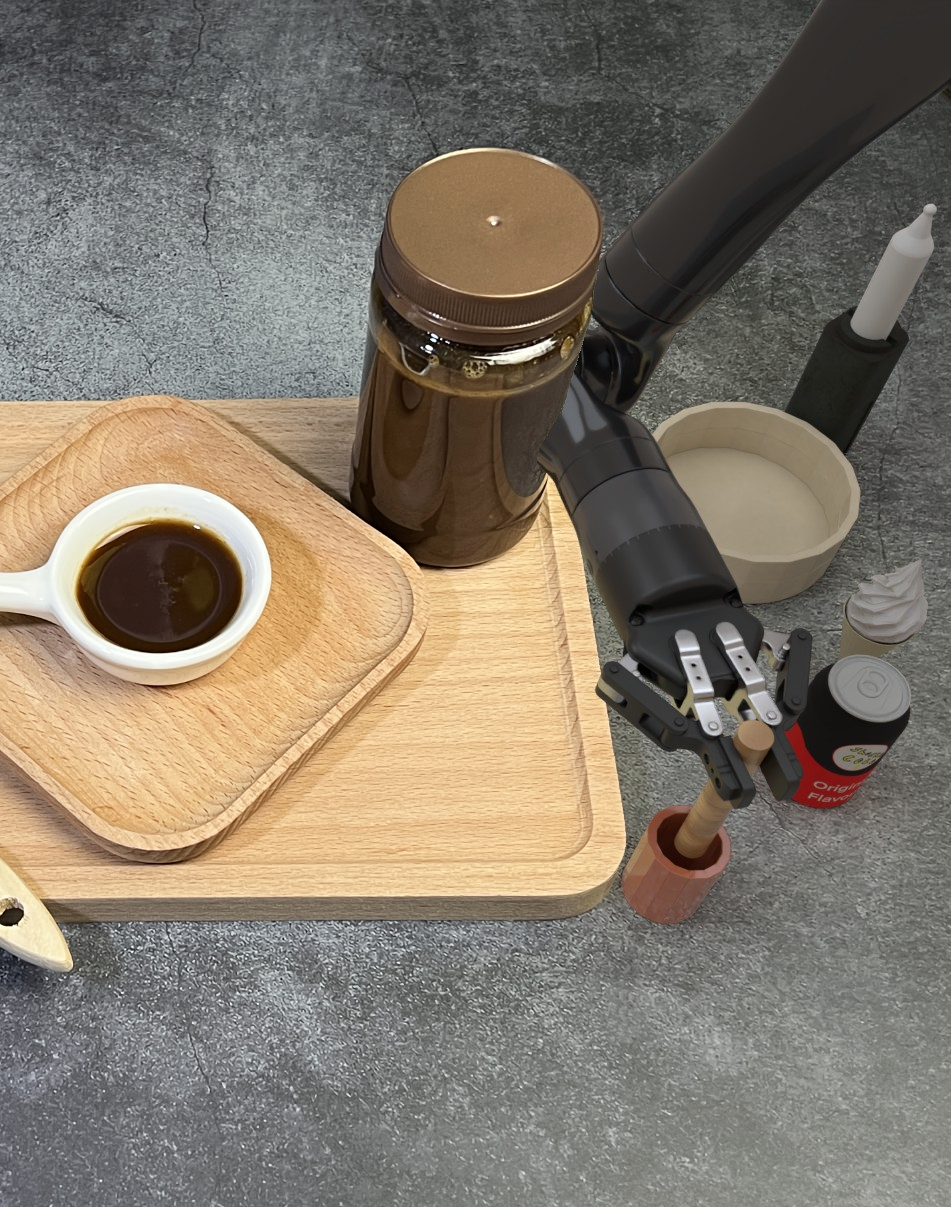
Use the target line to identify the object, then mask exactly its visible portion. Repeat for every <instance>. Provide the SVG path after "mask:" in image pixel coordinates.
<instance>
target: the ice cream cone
mask: <svg viewBox="0 0 951 1207" xmlns="http://www.w3.org/2000/svg"><path fill="white" fill-rule="evenodd" d="M922 562H923V559H922V558H919V559H917V560H915V561H913V562H911V563H909V564H907V565H905V566H902V567H895V568H894V572H892V573H890V572H889V573H884V575H882V574H874V575H872V576H871V577H870V579H871V581H872V584H871V583H866V582H861V583H858V585H857V586H858V589H856V590H854V591H853V592H851V593H850V594H849V595H848V596H846V598H845V600H844V602H843V605H842V606H843V607H842V613H843V620H842V627H841V634H840V642H839V643H840V644H839V652H838V653H839V654H838V660H837V662H838V661H839V660H841V659H842V658H845V657H847V656H851V655H869V656H873V657H877V658H880V657H881V656H883V655H885V654H886V653H887V654H888V653H889V652H891V651H892V650H893V649H895V648H896V647H898V646H901V645H904V644H906V643H908V642H910V641H911V640H912V639H913V638H914V637H915V636H916V634H918V633H920V631H921V628H922V627H923V626H924V624H926V620H927V615H928V614H927V613H928V608H929V602H928V600H927V599H926V597H925V592H926V591H925V587H924V586H925V585H924V584H925V581H924V578H923V575H922V573H923V572H922Z"/></svg>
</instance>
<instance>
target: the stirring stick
mask: <svg viewBox="0 0 951 1207" xmlns="http://www.w3.org/2000/svg"><path fill="white" fill-rule="evenodd" d="M732 739H733V743H734V745H735V747H736V749H737V750H738V752H739V754H740V756H741V758H742V760H743V762H744V764H745V766H746V768H747V770H748V772H749V774H750V776H751V778H753V777H754V776H755V773H757V771H758V769H759V768H760V767H759V766H760V764H761V762H762V761H763V759H764V758H765V756H766V754H767V753H768V751H769V750H770V748H771V746H772V745H773V743H774V734H773V732H772V730H771V729H770V728H769V727H768V726H767V725H766V724H764V723H763V722H760V721H757V720H748V721H745V722H743V723H741V724H740V723H739V725H738V727H737V729H736V731H735V732H734V734H733V735H732ZM692 806H693V807H692V809H691V810H690V812H689V814H688V816H687V817H686V819H685V821H684V823H683V824H682V826H681V828H680V830H679V831H678V833H677V835H676V837H675V840H674V843H675V847H676V849H677V850H678V852H679V853H680V854H682V855H683V856H685V857H687V858H699V857H701V856H703V855H704V853H705V852H706V850H707V849H708V847H709V845H710V844H711V842H712V841H713V839H714V838H715V836H716V834H717V833H718V831H719V830H720V828H721V826H722V825H723V826H724V823H725V821H726V820H727V818H728V817H729V815H730V814H731V812H732V810H733V809H734V808H733V807H732V805H731V803H730V801H723V800H722V799H721V798H720V797H719V796H718V795H717V793H716V791H715V789H714V786H713V784H712V782H711V779H710V778H709V777H708V779H707V781H706V783H705V785H704V786H703V788H702V790H701V792H700V793H699V795H698V797H697V798H696V800H695V802H694V803H693V805H692Z"/></svg>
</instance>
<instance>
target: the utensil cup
mask: <svg viewBox="0 0 951 1207" xmlns="http://www.w3.org/2000/svg"><path fill="white" fill-rule="evenodd" d="M692 807H693V805H689V804H679V805H678V804H677V805H676V804H675V805H669V806H667V807H666V808H663V809H661V810H659V811H658V812H657V811H656V813H655V814H654V815H653V817H652V819H650V822H649V823H648V825H647V827H646V828H645V830H644V833H643V834H642V836H641V838H640V840H639V841H638V843H637V845H636V847H635V849H634V850H633V852H632V854H631V855H630V858H629V859H628V861H627V863H626V865H625V867H624V868H623V871H622V874H621V890H622V893H623V895H624V898H625V900H626V902H627V903H628V905H629V906H630V907H631V908H632V909H633V910H634V911H635V912H636V913H637V914H639V915H640V916H641V917H643V918H645V919H647V920H649V921H651V922H654V923H658V924H661V925H662V924H665V925H673V924H679V923H681V922H683V921H686V920H687V919H689V918H690V917H692V916H693V915H694V914H695V913H696V912H697V910H698V908H699V907H700V906H701V904H702V903H703V901H704V900H705V898H706V896H708V893H709V892H710V891H711V889H712V888H713V886H714V885H715V884H716V882H717V881H718V879H719V877H720V876H721V875H722V873H724V872H723V871H724V870H725V869H726V867H727V866H728V863H729V862H730V861H731V858H732V842H731V838H730V836H729V834H728V832H727V829H726V828H725V827H724V824H723V825H722V826H721V828H720V830H719V831H718V833H717V834H716V836H715V838H714V839H713V841H712V842H711V844H710V845H709V847H708V849H707V850H706V852H705V853H704V855H703V856H701V857H699V858H687V857H685V856H683V855H682V854H680V853H679V852H678V850H677V849H676V847H675V843H674V840H675V837H676V835H677V833H678V831H679V830H680V828H681V826H682V824H683V823H684V821H685V819H686V817H687V816H688V814H689V812H690V810H691V809H692Z"/></svg>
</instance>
